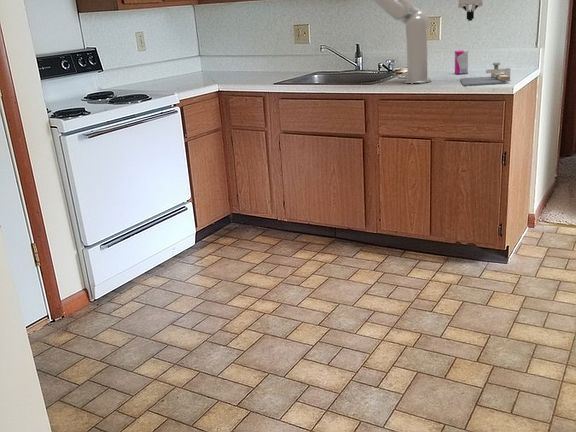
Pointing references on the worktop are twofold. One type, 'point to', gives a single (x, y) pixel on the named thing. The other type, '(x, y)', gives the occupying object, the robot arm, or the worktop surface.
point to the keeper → (499, 71)
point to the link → (499, 74)
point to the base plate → (481, 81)
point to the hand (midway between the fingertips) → (470, 20)
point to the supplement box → (461, 62)
